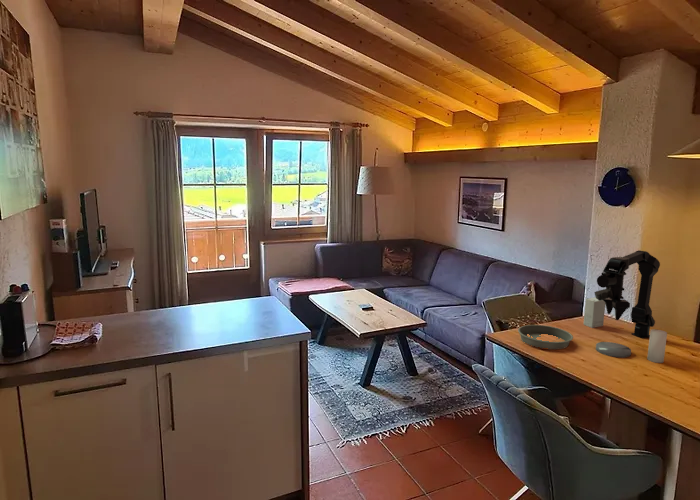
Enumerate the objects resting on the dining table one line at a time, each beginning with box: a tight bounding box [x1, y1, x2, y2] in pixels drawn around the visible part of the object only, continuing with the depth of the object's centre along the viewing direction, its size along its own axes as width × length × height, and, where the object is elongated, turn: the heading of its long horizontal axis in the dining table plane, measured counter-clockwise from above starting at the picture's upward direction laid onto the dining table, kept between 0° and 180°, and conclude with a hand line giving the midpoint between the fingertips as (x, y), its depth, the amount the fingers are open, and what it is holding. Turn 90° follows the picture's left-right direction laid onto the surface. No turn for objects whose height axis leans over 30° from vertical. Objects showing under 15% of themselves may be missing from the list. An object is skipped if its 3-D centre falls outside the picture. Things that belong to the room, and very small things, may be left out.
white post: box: [646, 328, 668, 364], centre depth 199 cm, size 6×6×13 cm
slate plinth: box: [595, 341, 632, 359], centre depth 210 cm, size 14×14×2 cm
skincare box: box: [583, 296, 606, 329], centre depth 245 cm, size 8×6×15 cm
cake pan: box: [517, 324, 574, 350], centre depth 222 cm, size 25×25×4 cm
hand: (612, 316), depth 217 cm, fingers open, 9 cm apart
